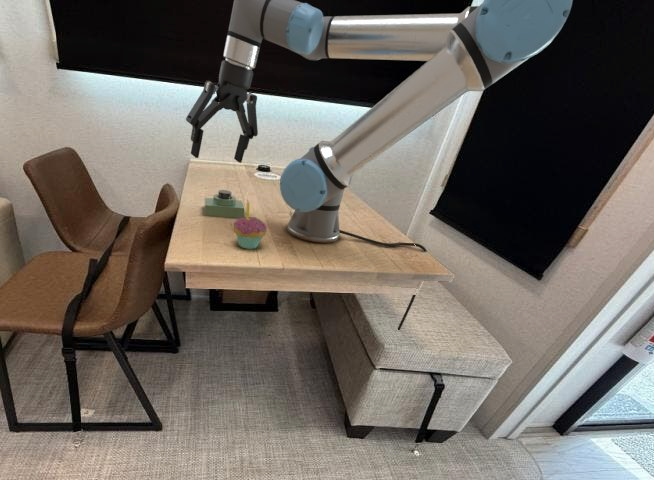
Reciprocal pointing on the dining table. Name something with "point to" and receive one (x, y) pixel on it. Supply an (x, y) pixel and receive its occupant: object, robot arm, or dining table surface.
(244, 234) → the cupcake
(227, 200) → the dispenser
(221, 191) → the pump
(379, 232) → the dining table surface
